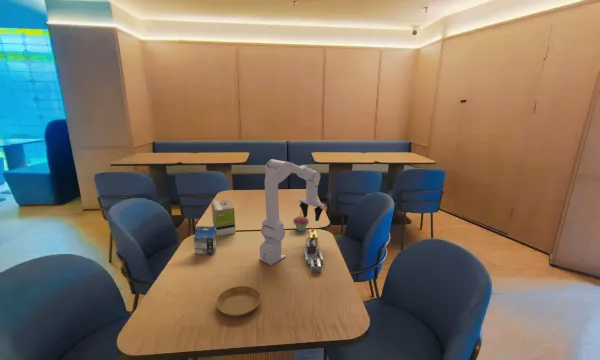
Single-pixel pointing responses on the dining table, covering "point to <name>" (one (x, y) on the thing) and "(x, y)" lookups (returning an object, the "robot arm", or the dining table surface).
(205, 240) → the blue and white carton
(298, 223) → the cupcake
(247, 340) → the dining table surface
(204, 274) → the dining table surface
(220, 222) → the tea box
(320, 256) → the chain
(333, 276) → the dining table surface
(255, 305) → the plant saucer
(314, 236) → the brass link
